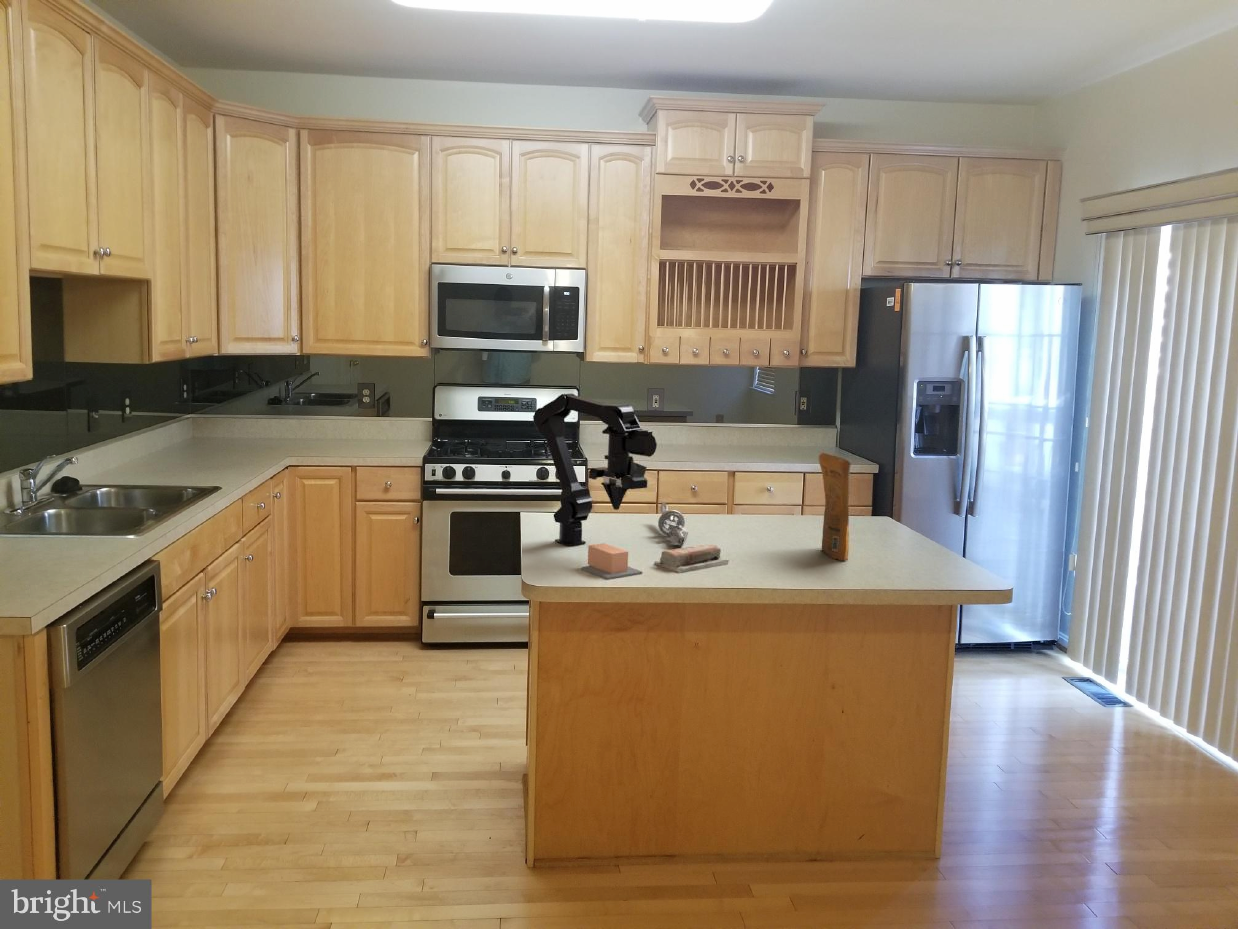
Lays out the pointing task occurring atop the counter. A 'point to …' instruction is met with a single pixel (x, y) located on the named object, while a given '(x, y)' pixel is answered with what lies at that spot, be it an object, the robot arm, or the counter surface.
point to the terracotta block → (607, 558)
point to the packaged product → (691, 558)
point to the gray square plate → (608, 575)
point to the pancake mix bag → (835, 506)
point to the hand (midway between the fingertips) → (616, 509)
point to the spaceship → (672, 525)
